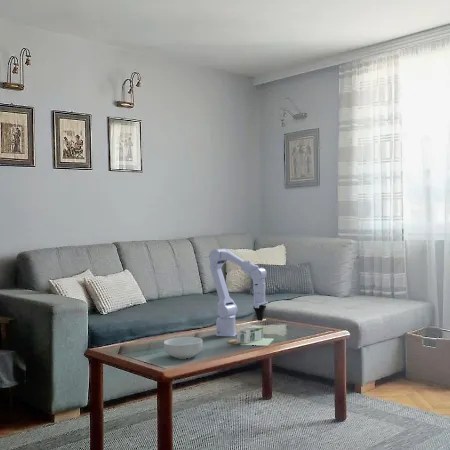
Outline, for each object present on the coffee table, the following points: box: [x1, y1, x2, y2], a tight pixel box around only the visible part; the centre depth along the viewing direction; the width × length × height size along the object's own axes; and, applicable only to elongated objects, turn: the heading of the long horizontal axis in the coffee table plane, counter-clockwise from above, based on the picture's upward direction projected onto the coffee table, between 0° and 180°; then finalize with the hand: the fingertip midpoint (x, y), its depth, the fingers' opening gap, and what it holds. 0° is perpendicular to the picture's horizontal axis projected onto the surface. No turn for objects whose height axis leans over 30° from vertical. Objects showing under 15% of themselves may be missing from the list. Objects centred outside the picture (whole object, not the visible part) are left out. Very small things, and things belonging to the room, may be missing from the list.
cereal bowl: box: [163, 336, 204, 360], centre depth 249 cm, size 17×17×7 cm
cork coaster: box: [227, 338, 241, 345], centre depth 277 cm, size 8×8×1 cm
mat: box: [239, 337, 275, 347], centre depth 276 cm, size 13×16×1 cm
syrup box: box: [236, 325, 264, 343], centre depth 278 cm, size 6×6×14 cm
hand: (260, 320), depth 283 cm, fingers closed
